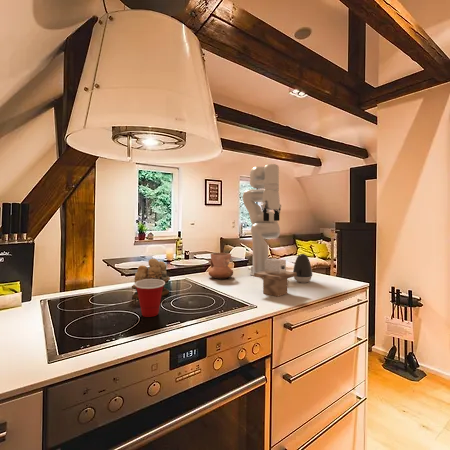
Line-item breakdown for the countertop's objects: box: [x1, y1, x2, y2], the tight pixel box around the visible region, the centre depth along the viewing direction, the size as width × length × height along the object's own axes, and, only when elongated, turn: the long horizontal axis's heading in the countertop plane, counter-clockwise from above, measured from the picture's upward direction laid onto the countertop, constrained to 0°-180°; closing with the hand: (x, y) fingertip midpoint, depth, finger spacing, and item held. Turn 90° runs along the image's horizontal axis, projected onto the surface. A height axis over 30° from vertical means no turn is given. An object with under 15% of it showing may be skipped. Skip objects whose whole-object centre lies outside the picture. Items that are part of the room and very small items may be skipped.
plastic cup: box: [134, 279, 166, 318], centre depth 104 cm, size 11×11×12 cm
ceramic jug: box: [208, 252, 234, 280], centre depth 167 cm, size 18×14×14 cm
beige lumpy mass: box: [131, 258, 171, 301], centre depth 129 cm, size 18×12×17 cm, turn 130°
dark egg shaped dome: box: [292, 253, 313, 284], centre depth 155 cm, size 10×10×15 cm
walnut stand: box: [253, 270, 297, 297], centre depth 132 cm, size 14×14×10 cm
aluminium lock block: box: [265, 258, 287, 275], centre depth 131 cm, size 9×5×6 cm, turn 47°
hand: (271, 220), depth 150 cm, fingers open, 9 cm apart
